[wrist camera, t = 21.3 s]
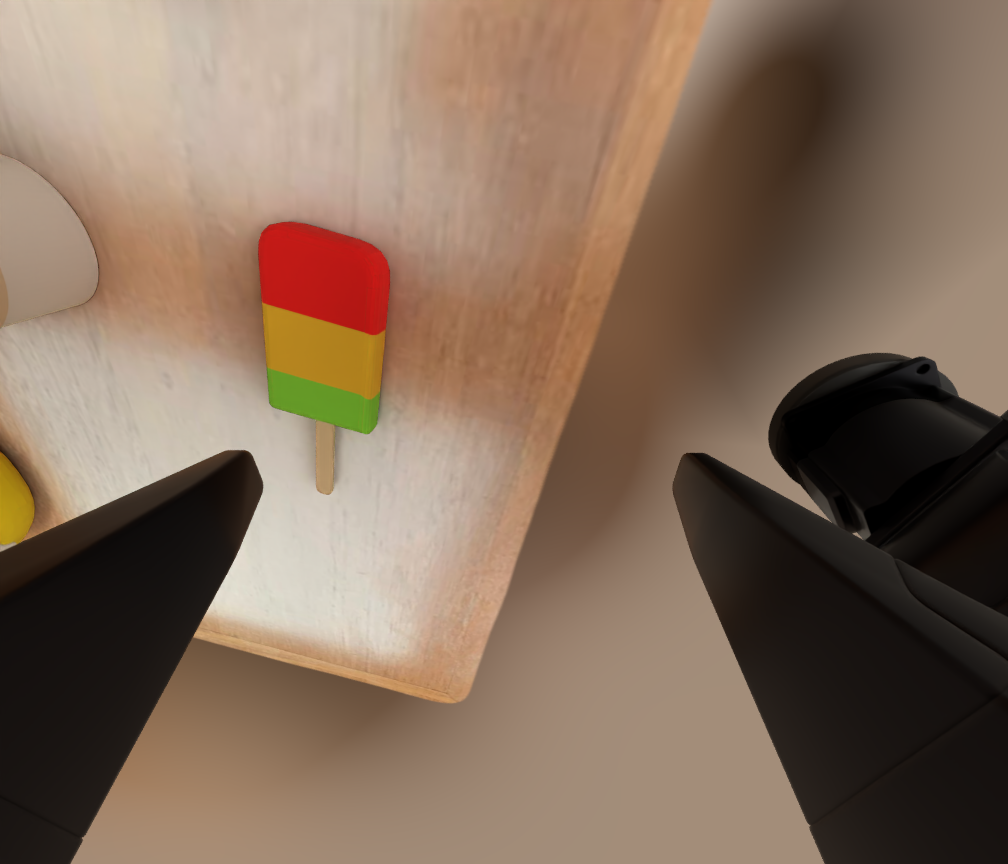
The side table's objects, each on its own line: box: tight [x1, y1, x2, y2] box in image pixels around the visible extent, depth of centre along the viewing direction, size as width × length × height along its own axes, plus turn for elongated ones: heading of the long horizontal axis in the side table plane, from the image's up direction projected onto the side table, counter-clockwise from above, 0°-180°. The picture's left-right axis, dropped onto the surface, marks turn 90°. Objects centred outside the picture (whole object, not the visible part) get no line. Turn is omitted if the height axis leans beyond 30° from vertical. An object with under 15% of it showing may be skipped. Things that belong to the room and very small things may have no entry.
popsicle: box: [258, 222, 390, 495], centre depth 21 cm, size 6×15×2 cm, turn 166°
